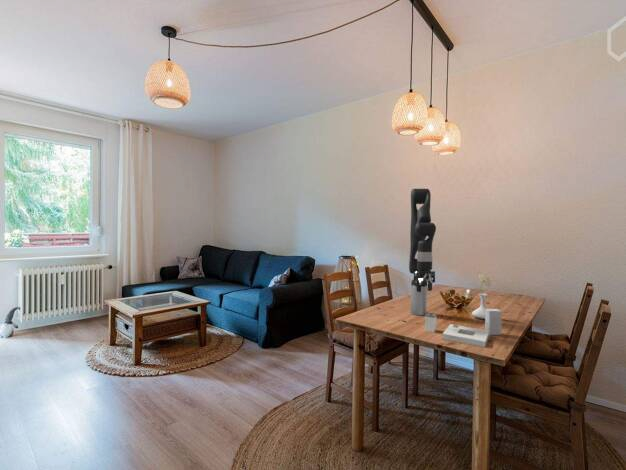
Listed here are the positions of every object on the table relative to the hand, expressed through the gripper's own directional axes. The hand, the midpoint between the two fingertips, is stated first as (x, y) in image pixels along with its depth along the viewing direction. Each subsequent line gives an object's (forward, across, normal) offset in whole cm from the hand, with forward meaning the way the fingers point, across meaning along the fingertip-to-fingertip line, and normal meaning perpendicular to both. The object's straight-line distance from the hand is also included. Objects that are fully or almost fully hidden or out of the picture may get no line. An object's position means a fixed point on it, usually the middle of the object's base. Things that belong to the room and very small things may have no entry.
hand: (424, 291), depth 175 cm
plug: (+19, +1, +5) cm, 20 cm away
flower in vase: (+18, -45, +5) cm, 49 cm away
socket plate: (+20, -5, +21) cm, 29 cm away
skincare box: (+19, -22, +24) cm, 38 cm away
